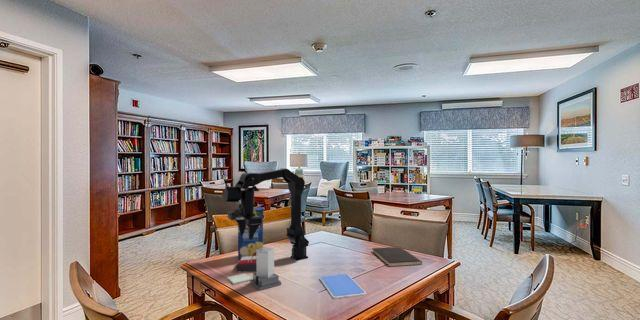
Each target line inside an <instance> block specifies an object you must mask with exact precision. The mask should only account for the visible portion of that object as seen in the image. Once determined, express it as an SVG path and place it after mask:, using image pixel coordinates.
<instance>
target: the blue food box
mask: <svg viewBox="0 0 640 320" xmlns="http://www.w3.org/2000/svg"><path fill="white" fill-rule="evenodd" d="M254 213H255V216H260V217H261V218H262V223H261V225H259V227H258V229H257V230H256V232H255V234H254V236H253V238H252V239H251V240H250V239H249V233H248V227H247V226H246V228H245V231H244V234H243V235H240V231H239V227H238V226H237V241H238V242H237V257H238V258H237V259H238V261H240V259H241V258H242V257H248V256H252V257H253V256H256V250H258V249H260V248H261V247H264V206H263V207H262V206H261V207H260V206H259V207H257V206H256V207H254Z"/></svg>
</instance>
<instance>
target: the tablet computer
mask: <svg viewBox="0 0 640 320" xmlns="http://www.w3.org/2000/svg"><path fill="white" fill-rule="evenodd" d="M319 280H320V282H321V283H322V284H323V286H324V288H325V289H326V290H327V292H328V293H329V294H330V296H331V298H332V299H334V300H338V299H344V298H353V297H360V296H366V295H367V292H366V291H365V290H364V289H363V288H362V287H361V286H360V285H359V284H358V283H357V282H356V281H355V279H353V278H352V277H351V276H350V275H349V274H347V273H346V274H345V273H344V274H336V275H326V276H320V277H319Z"/></svg>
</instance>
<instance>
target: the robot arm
mask: <svg viewBox="0 0 640 320" xmlns="http://www.w3.org/2000/svg"><path fill="white" fill-rule="evenodd" d="M280 178H282V180H284V182H285V183H286V184H287V186H288V191H289V193H290V195H291V199H290V214H291V215H290V226H289V227H287V228H286V235H285V236H286V237H287V239H288V241H289V242H290V244H291V246H292V247H291V255H290V258H293V260H294V259H295V260H296V261H299V260H305V259H308V258H309V256H308V255H307V247H308V246H309V245H310V244H309V243H310V240H309V239H307V238H306V237H305V230H304V228H303V226H302V194H303V192H304V190H305V184H306V183H305V179H304V178H303V177H300V176H299V175H297V174H296V173H294V172H292V170H290V169H288V168H282V167H281V168H280V169H275V170H270V171H262V172H244V173H242V174H241V175H240V176H239V180H238V181H237V182H236V184H235V185H234V186H229V185H228V186H226V185H225V186H224V189H223V193H222V200H223V203H238V202H240V203H238V206H237V207H235V208H233V209H230V210H227V211H226V216H227V217H228V219H229V220H231V221H235V222H236V224H237V228H238V227H239V231H240V235H243V234H244V231H245V228H246V226H247V227H248V233H249V239H250V240H251V239H252V238H253V236H254V234H255V232H256V230H257V229H258V227H259V225H261V223H262V218H261V217H260V216H255V213H254V207H257V205H256V204H255V192H260V189H259V188H258V187H257V185H259V184H261V183H263V182H265V181H271V180H276V179H280Z"/></svg>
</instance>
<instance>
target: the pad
mask: <svg viewBox="0 0 640 320" xmlns="http://www.w3.org/2000/svg"><path fill="white" fill-rule="evenodd" d="M226 278H227V280H228V281H229V282H230V283H231V284H232V285H239V284H242V283H246V282H250V280H252V279H253V277H251V276H249V275H248V274H247V273H246V272H245V273H240V274H234V275H231V276H230V275H229V276H227V277H226Z"/></svg>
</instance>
